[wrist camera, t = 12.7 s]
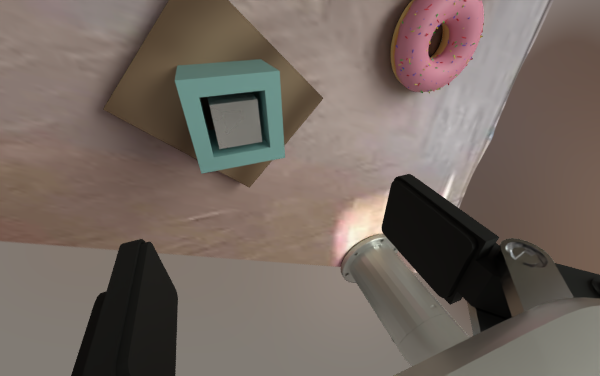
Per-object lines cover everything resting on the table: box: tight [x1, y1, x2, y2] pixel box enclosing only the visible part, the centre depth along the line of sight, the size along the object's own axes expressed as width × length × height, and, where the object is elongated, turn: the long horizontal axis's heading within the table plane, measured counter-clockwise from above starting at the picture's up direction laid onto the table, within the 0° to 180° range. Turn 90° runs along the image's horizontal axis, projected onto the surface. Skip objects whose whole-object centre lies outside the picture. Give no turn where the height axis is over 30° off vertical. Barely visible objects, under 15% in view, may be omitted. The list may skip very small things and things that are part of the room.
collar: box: [175, 59, 285, 173], centre depth 21 cm, size 7×7×6 cm
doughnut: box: [390, 0, 484, 93], centre depth 28 cm, size 11×11×4 cm
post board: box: [103, 0, 323, 188], centre depth 22 cm, size 15×13×8 cm
